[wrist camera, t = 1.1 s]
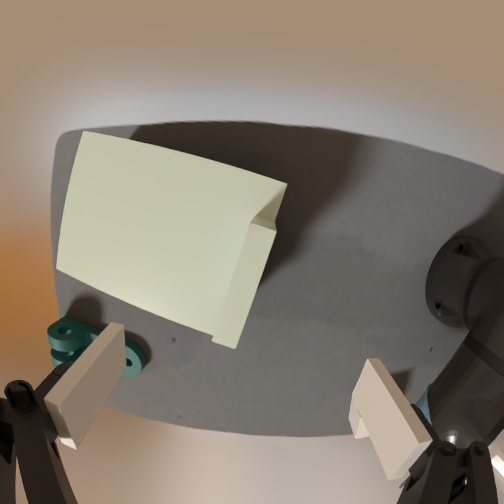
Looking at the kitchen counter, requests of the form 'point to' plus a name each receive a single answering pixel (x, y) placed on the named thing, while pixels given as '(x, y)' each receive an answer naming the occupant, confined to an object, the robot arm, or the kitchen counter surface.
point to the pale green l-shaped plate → (169, 231)
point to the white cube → (357, 422)
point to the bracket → (87, 345)
